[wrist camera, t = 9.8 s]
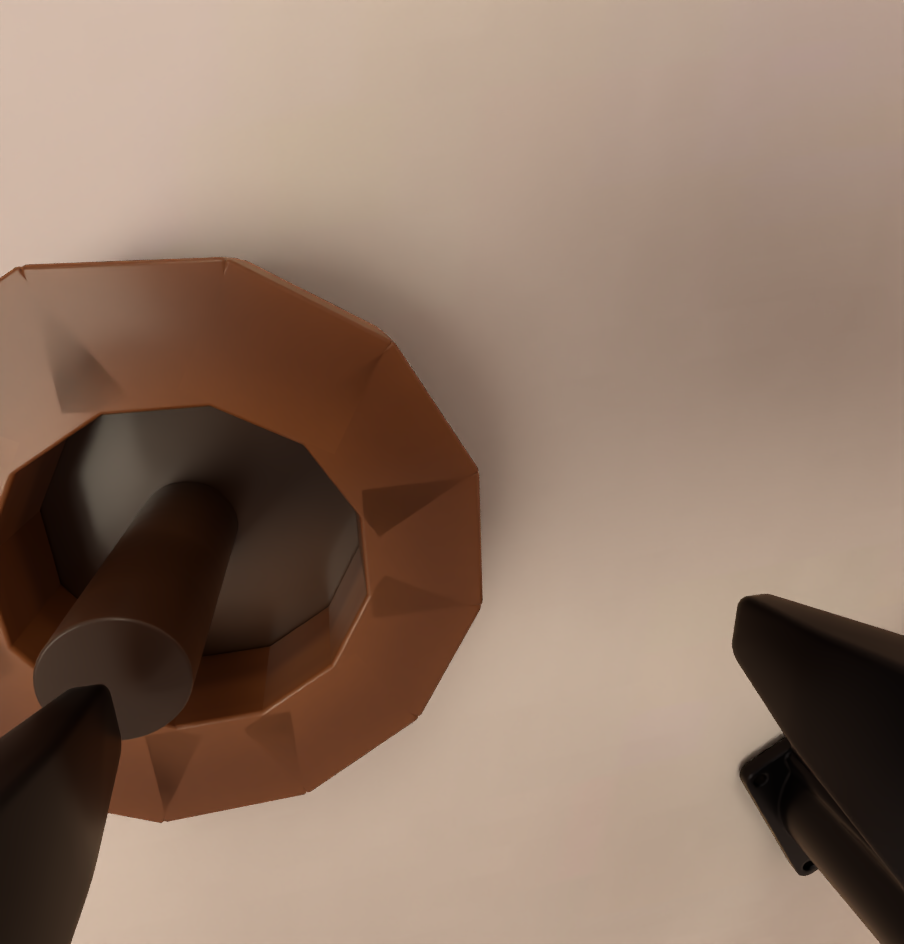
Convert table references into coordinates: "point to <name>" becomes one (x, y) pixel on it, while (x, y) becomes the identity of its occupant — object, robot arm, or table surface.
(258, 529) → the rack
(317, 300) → the ring
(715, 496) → the table surface
